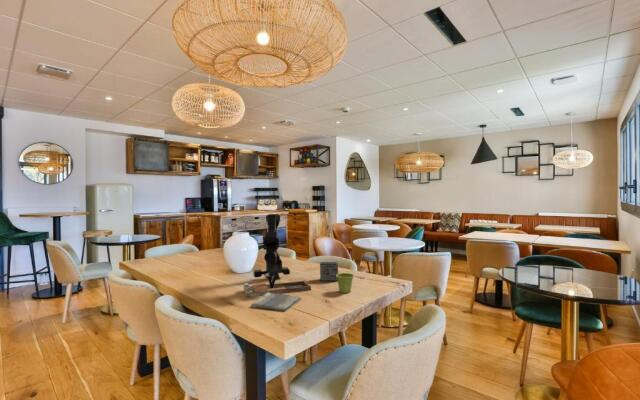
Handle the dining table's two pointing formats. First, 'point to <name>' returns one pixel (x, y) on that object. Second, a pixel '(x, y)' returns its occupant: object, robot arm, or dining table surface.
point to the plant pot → (345, 282)
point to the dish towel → (276, 302)
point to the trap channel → (289, 288)
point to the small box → (328, 271)
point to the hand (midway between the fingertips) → (271, 288)
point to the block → (259, 287)
